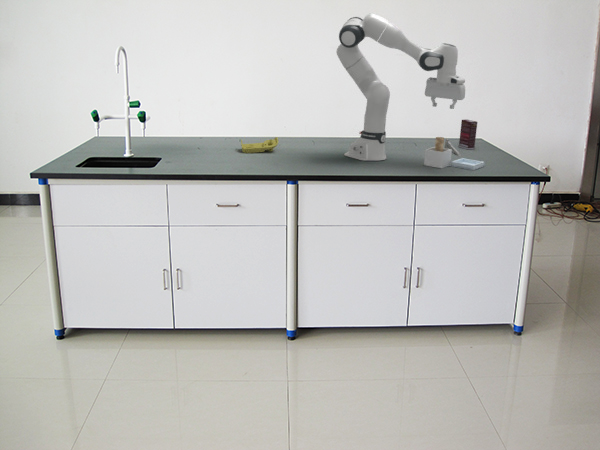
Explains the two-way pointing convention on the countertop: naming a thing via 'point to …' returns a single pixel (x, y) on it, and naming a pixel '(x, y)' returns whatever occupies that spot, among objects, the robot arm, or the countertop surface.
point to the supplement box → (468, 134)
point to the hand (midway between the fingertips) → (443, 107)
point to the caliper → (451, 147)
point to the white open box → (437, 158)
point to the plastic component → (260, 146)
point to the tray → (467, 164)
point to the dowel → (439, 144)
